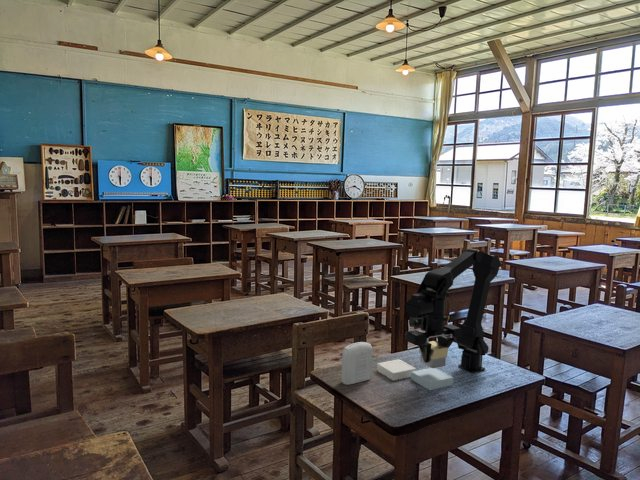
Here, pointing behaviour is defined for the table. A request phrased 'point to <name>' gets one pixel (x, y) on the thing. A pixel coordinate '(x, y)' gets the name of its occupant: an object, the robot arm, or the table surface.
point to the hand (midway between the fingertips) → (432, 360)
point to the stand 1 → (395, 369)
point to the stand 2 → (431, 378)
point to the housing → (436, 355)
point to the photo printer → (356, 363)
